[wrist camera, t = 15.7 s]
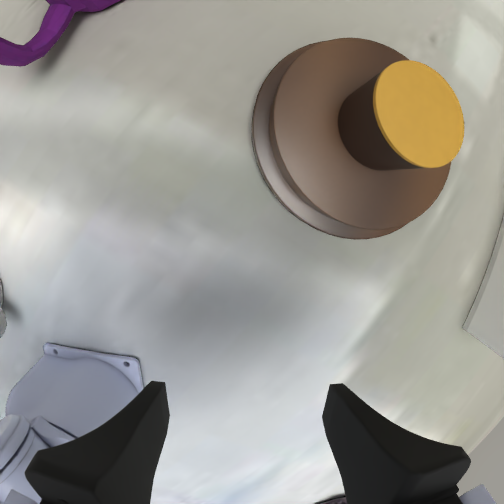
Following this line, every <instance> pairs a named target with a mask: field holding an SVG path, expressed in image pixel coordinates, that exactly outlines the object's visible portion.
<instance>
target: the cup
mask: <svg viewBox="0 0 504 504" xmlns="http://www.w3.org/2000/svg"><path fill="white" fill-rule="evenodd" d="M2 304H3V291H2V284H1V281H0V338H1V336H2V335H3V333H4V332H5V329H6V326H7V322H6V317H5V314H4V312H3V310H2Z"/></svg>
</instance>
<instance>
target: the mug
mask: <svg viewBox="0 0 504 504" xmlns="http://www.w3.org/2000/svg"><path fill="white" fill-rule="evenodd" d="M46 1H47V2H48V3H49V4H51V5H50V7H49V9H48V10H47V12H46V14H45V16H44V19H43V21H42V24H41V27H40V30H39V32H38V33H37V34H36V35H35V36H34V37H33V38H32V39H31V40H30V41H29V42H28V43H26V44H25V45H17V44H14V43H12V42H10V41H7V40H5V39H3V38H1V37H0V64H1V65H8V66H26V65H27V64H29V63H31V62H33V61H35V60H37V59H39V58H41V57H43V56H45V54H46V53H47V52H48V51H49V50H50V49H51V48H52V47H53V45H54V44H55V43H56V42H57V41H58V39H59V38H60V37H61V35H62V34H63V32H64V31H65V29H66V28H67V27H68V25H69V23H70V21H71V19H72V17H73V15H74V13H75V12H77V11H84V12H96V11H101V10H103V9H105V8H107V7H109V6H111V5H112V4H114V3H116V2H118V1H120V0H46Z"/></svg>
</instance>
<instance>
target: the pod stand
mask: <svg viewBox="0 0 504 504" xmlns="http://www.w3.org/2000/svg"><path fill="white" fill-rule="evenodd" d="M404 60H409V59H408V58H406V57H405V56H404V55H402V54H400V53H399V52H397V51H395V50H394V49H392V48H390V47H387V46H385V45H383V44H380V43H377V42H374V41H370V40H365V39H359V38H339V39H334V40H329V41H322V42H318V43H313V44H309V45H307V46H304V47H302V48H299V49H297V50H296V51H294V52H292V53H291V54H289V55H287V56H286V57H285V58H284V59H282V60H281V61H280V62H279V63H278V64H277V65H276V66H275V67H274V68H273V69H272V70H271V72H270V73H269V74H268V76H267V78H266V79H265V81H264V82H263V84H262V86H261V89H260V91H259V93H258V95H257V99H256V103H255V106H254V111H253V118H252V142H253V148H254V154H255V157H256V160H257V164H258V167H259V169H260V171H261V173H262V176H263V178H264V180H265V181H266V183H267V185H268V186H269V188H270V190H271V191H272V193H273V194H274V195H275V196H276V198H277V199H278V200H279V201H280V203H281V204H282V205H283V206H285V207H286V208H287V209H288V210H289V211H290V212H291V213H292V214H293V215H295V216H296V217H297V218H299V219H300V220H301V221H303V222H305V223H307V224H308V225H310V226H312V227H313V228H315V229H317V230H320V231H322V232H324V233H327V234H329V235H333V236H337V237H341V238H348V239H370V238H376V237H381V236H384V235H387V234H390V233H392V232H394V231H396V230H398V229H400V228H402V227H403V226H405V225H406V224H407V223H409V222H410V221H412V220H414V219H416V218H417V217H419V216H420V215H421V214H423V213H424V212H425V211H426V210H427V209H428V208H429V207H430V206H431V205H432V204H433V203H434V201H435V200H436V199H437V197H438V196H439V194H440V192H441V191H442V189H443V187H444V185H445V182H446V180H447V177H448V174H449V170H450V165H451V161H450V162H449V163H448V164H446V165H444V166H441V167H437V168H421V169H401V170H385V171H380V170H374V169H371V168H368V167H366V166H364V165H362V164H361V163H359V162H358V161H357V160H356V159H354V157H353V156H352V155H351V154H350V153H349V152H348V150H347V149H346V147H345V146H344V144H343V141H342V139H341V136H340V132H339V127H338V117H339V111H340V108H341V106H342V104H343V102H344V101H345V99H346V98H347V97H348V96H349V95H350V94H352V93H353V92H354V91H356V90H357V89H358V88H360V87H361V86H362V85H364V84H365V83H366V82H368V81H369V80H370V79H372V78H373V77H374V76H376V75H377V74H378V73H380V72H381V71H383V70H384V69H385V68H387V67H388V66H390V65H391V64H393V63H395V62H398V61H404Z"/></svg>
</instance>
